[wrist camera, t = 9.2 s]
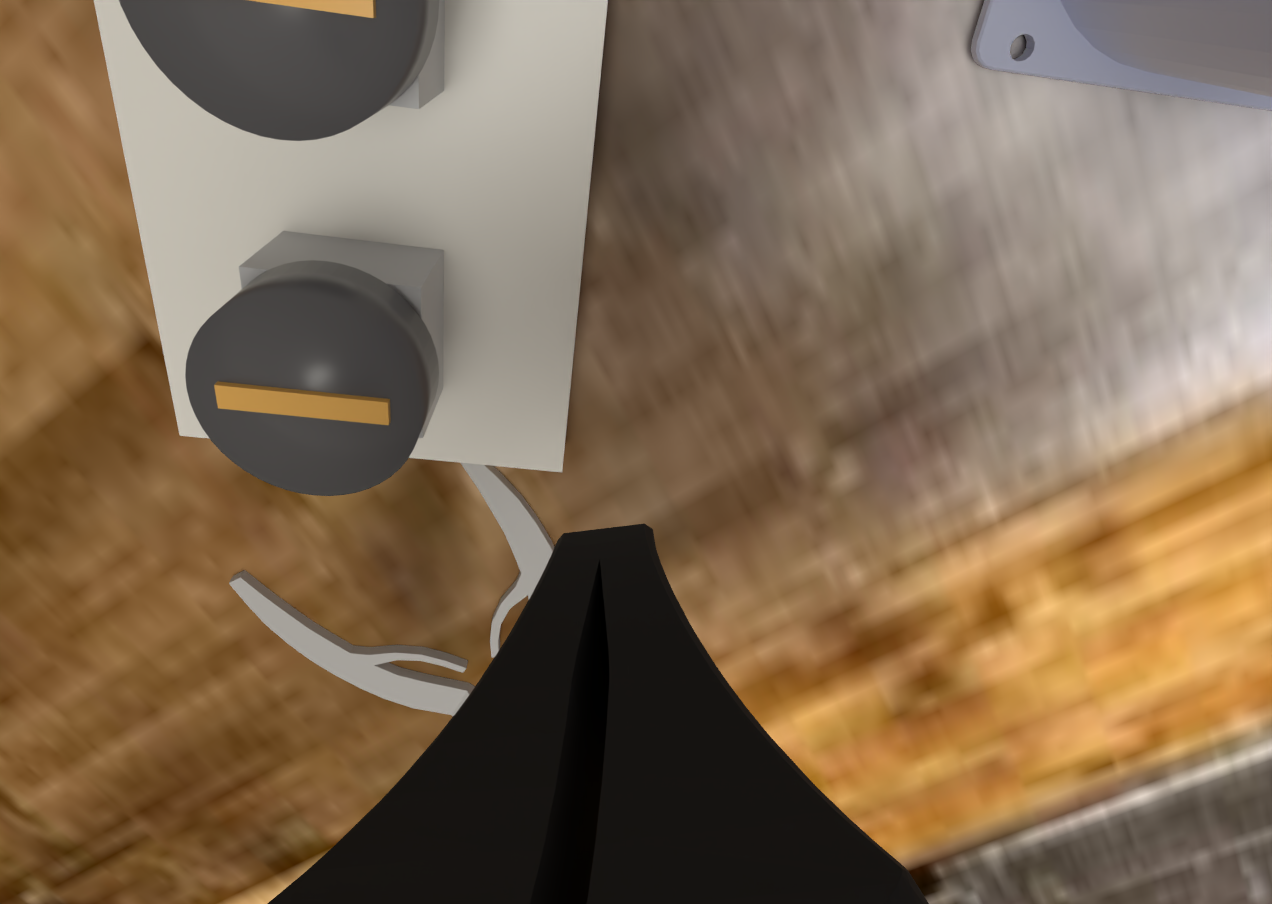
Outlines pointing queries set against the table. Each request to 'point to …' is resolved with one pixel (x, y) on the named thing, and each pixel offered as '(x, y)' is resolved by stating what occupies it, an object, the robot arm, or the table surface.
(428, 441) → the knob mount
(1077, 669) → the table surface
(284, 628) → the pliers
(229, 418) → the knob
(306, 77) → the knob middle
